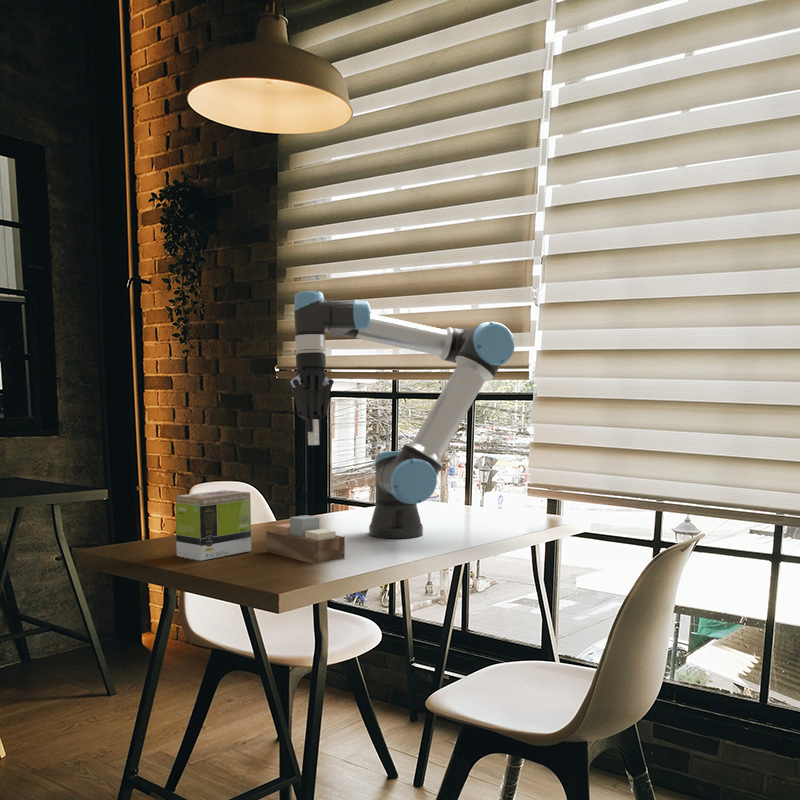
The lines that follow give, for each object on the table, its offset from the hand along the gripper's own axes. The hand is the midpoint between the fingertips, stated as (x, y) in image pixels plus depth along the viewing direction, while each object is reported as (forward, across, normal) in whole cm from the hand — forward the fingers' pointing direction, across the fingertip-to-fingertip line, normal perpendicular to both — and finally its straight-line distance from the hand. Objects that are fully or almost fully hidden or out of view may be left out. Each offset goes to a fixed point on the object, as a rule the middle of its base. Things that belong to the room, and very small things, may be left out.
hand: (313, 444), depth 185 cm
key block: (+26, +9, +7) cm, 28 cm away
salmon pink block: (+25, +9, 0) cm, 26 cm away
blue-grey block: (+22, +9, +7) cm, 25 cm away
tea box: (+25, +24, -9) cm, 36 cm away
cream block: (+25, +9, +13) cm, 30 cm away
